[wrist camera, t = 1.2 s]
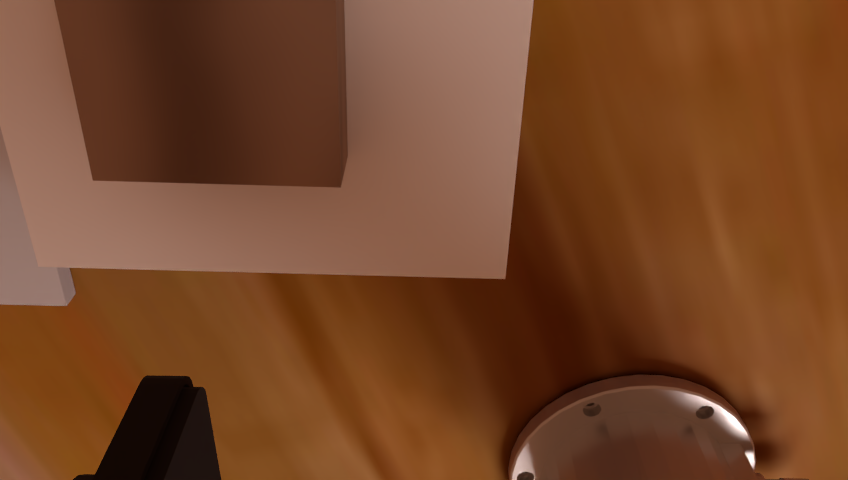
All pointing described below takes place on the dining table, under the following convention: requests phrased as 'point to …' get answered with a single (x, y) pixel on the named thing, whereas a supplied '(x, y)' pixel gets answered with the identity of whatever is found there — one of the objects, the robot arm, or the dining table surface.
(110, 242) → the deck
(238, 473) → the dining table surface
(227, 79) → the tile
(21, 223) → the mat
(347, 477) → the dining table surface
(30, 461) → the dining table surface
